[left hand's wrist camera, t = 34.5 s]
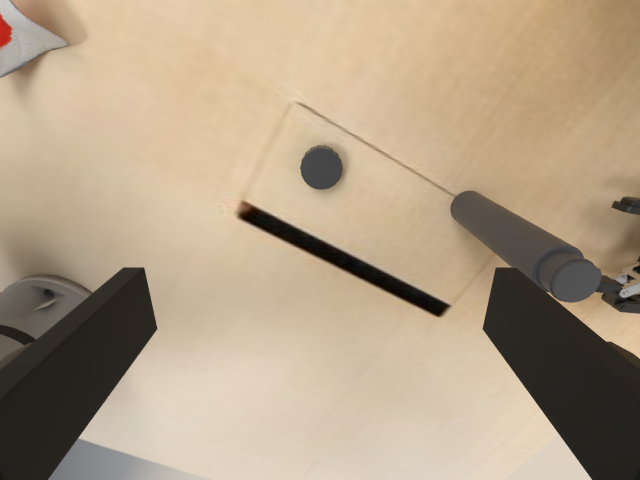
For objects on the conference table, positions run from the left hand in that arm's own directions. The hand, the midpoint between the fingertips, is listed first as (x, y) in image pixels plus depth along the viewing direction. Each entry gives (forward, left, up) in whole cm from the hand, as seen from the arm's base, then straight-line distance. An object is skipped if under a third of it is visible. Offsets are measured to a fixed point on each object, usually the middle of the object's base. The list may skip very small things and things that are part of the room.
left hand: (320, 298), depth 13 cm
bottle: (+15, -12, -30) cm, 36 cm away
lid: (0, 0, -28) cm, 28 cm away
